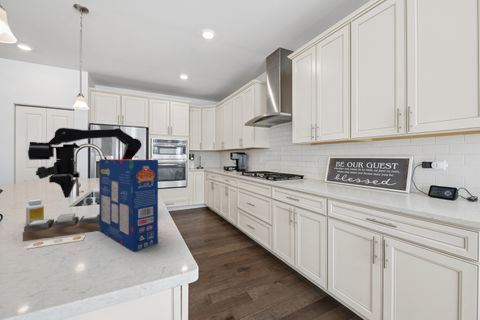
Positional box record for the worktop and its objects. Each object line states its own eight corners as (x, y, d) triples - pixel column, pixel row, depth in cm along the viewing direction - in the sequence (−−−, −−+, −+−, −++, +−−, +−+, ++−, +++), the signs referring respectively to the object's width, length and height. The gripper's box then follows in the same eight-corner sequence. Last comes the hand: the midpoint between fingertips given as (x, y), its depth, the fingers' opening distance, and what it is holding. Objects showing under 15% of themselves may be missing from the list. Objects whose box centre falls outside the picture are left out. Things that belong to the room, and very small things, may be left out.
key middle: (75, 218, 79) (75, 213, 79) (72, 221, 76) (72, 216, 76) (60, 220, 77) (60, 214, 77) (57, 223, 73) (57, 217, 73)
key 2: (98, 219, 83) (98, 213, 83) (96, 222, 79) (96, 216, 79) (85, 220, 81) (85, 215, 81) (82, 223, 77) (82, 218, 77)
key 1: (50, 224, 76) (50, 219, 76) (45, 228, 72) (45, 222, 72) (34, 226, 74) (34, 220, 74) (28, 230, 70) (28, 224, 70)
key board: (101, 225, 85) (101, 213, 85) (99, 230, 79) (99, 218, 79) (31, 234, 74) (31, 221, 74) (22, 241, 68) (22, 227, 68)
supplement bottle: (47, 220, 91) (47, 199, 91) (33, 224, 85) (33, 201, 85) (36, 220, 91) (36, 198, 91) (22, 223, 86) (22, 201, 86)
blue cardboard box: (157, 243, 67) (157, 159, 67) (133, 252, 61) (133, 160, 60) (121, 225, 84) (121, 159, 84) (99, 231, 78) (99, 159, 78)
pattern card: (85, 235, 73) (85, 234, 73) (82, 240, 69) (82, 239, 69) (33, 243, 67) (33, 241, 67) (26, 249, 62) (26, 247, 62)
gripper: (46, 159, 86) (47, 195, 86) (28, 160, 70) (30, 204, 70) (79, 159, 91) (80, 193, 92) (70, 159, 75) (71, 200, 76)
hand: (66, 197), depth 82 cm, fingers closed
